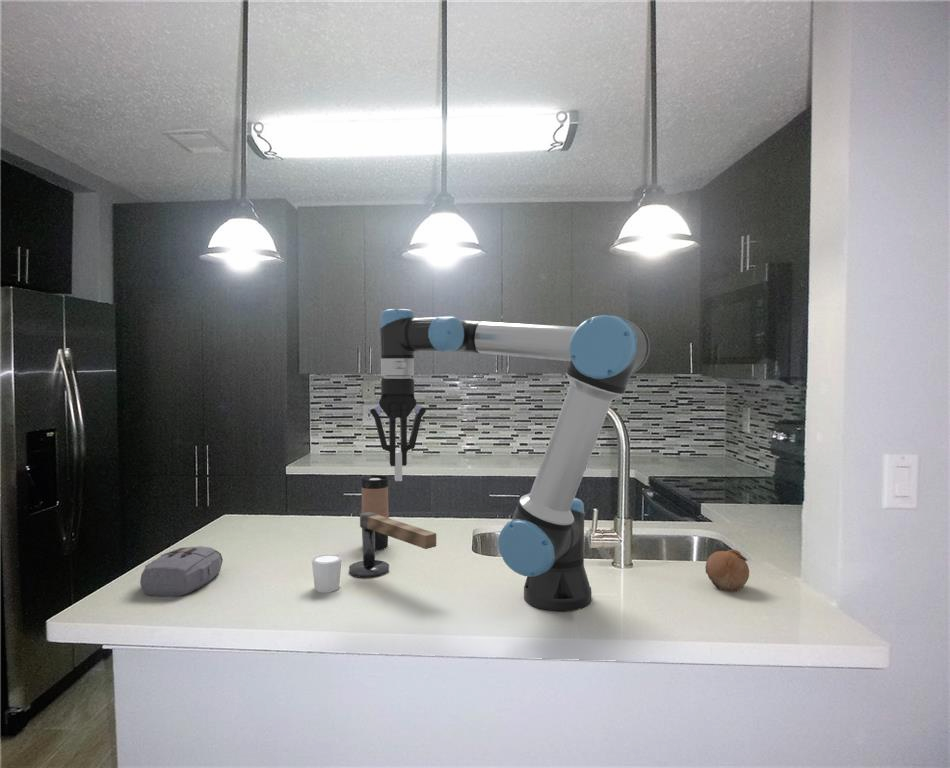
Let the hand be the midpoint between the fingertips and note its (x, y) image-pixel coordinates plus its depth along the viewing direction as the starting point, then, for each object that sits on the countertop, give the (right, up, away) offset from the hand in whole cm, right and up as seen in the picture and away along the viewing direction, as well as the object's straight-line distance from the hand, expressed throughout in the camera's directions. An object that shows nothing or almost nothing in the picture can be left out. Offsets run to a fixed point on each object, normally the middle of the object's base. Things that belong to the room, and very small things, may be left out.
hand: (398, 479), depth 142 cm
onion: (+77, -26, +3) cm, 81 cm away
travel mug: (-11, -25, +36) cm, 45 cm away
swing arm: (-2, -14, +7) cm, 16 cm away
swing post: (-9, -26, +15) cm, 31 cm away
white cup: (-17, -26, +4) cm, 32 cm away
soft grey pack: (-53, -26, +8) cm, 59 cm away
